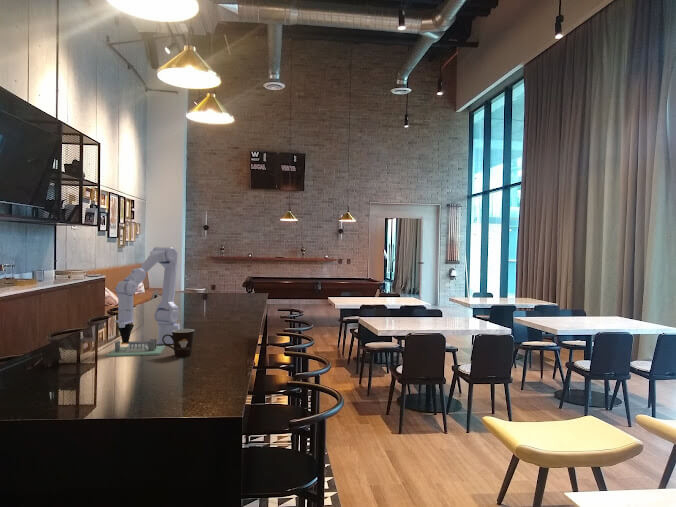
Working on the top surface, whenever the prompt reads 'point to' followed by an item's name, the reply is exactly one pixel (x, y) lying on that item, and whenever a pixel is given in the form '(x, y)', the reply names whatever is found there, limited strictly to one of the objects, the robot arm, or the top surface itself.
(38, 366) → the top surface
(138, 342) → the brown and grey bar
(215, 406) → the top surface
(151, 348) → the heatsink board
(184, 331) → the coffee mug
